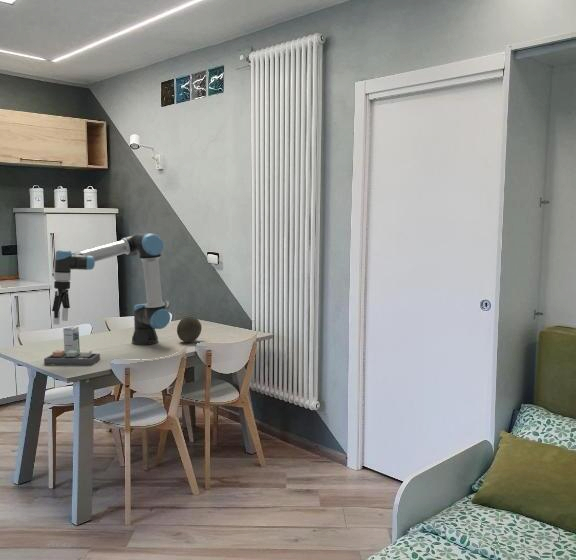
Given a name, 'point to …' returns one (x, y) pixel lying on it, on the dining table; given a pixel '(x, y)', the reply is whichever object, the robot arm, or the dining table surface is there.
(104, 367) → the dining table surface
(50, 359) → the base
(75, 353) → the sage key
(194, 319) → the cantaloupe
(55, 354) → the terracotta key
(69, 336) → the syrup box
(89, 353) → the ivory key
